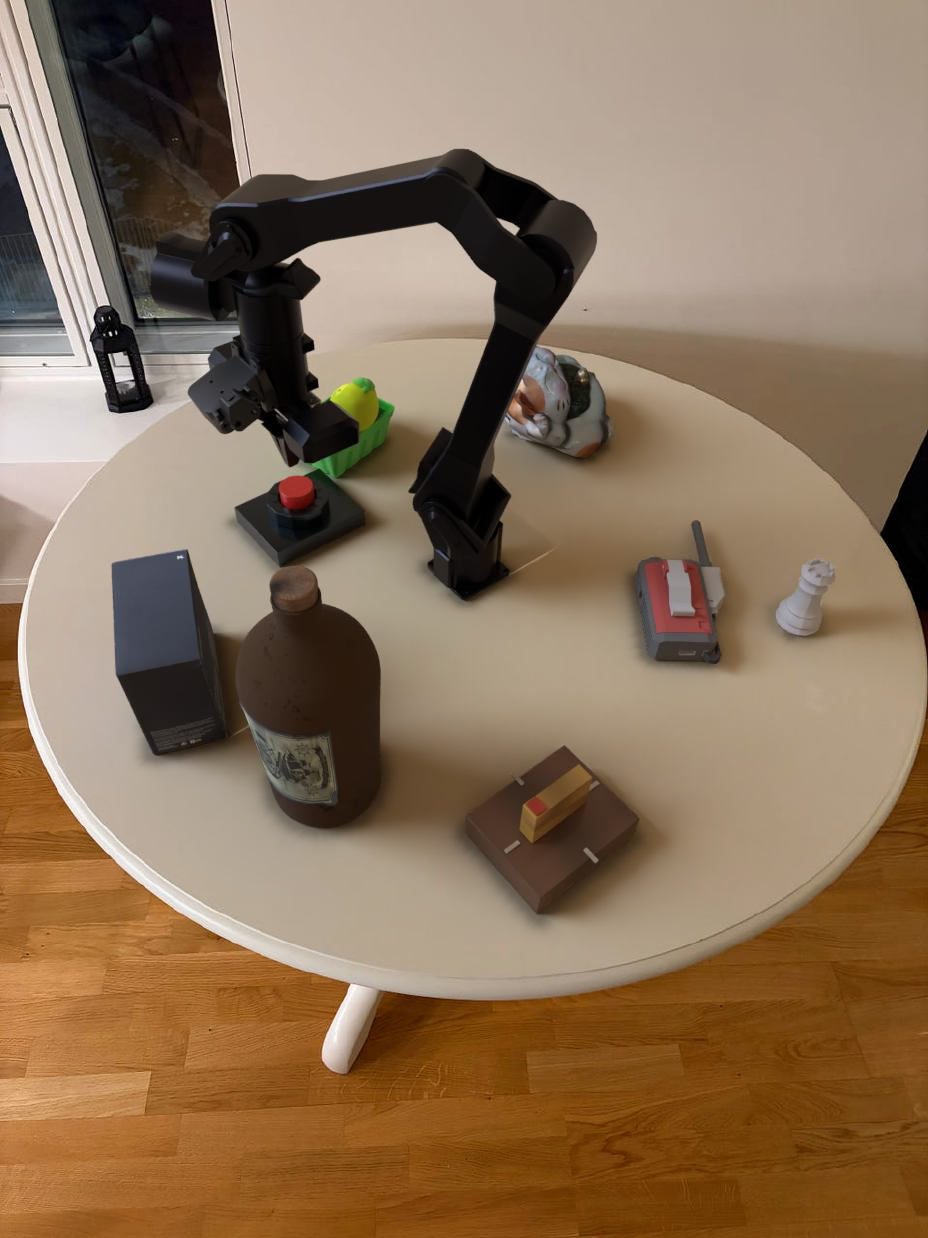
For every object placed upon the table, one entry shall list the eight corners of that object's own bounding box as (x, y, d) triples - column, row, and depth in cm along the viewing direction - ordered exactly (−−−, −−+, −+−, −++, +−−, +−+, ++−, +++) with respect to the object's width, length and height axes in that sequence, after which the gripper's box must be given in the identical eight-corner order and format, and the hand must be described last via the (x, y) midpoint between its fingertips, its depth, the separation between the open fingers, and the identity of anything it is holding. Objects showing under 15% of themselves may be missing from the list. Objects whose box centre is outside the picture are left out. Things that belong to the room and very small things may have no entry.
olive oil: (302, 714, 83) (263, 510, 64) (407, 751, 80) (399, 551, 62) (242, 809, 76) (178, 614, 57) (355, 853, 74) (328, 664, 55)
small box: (142, 646, 88) (108, 559, 79) (214, 632, 89) (189, 545, 80) (150, 757, 79) (113, 674, 70) (229, 740, 81) (203, 656, 72)
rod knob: (573, 789, 75) (579, 762, 72) (586, 803, 74) (593, 775, 71) (518, 830, 72) (522, 803, 69) (532, 844, 71) (536, 818, 68)
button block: (321, 482, 104) (317, 455, 101) (365, 524, 100) (363, 497, 97) (237, 521, 100) (231, 494, 97) (279, 568, 95) (274, 540, 92)
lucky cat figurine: (621, 461, 108) (594, 396, 96) (526, 490, 111) (489, 430, 99) (600, 363, 114) (572, 289, 102) (510, 392, 117) (473, 325, 105)
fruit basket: (351, 417, 113) (344, 336, 104) (407, 444, 109) (405, 363, 101) (288, 463, 106) (275, 381, 98) (345, 493, 103) (337, 411, 95)
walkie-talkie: (737, 672, 87) (702, 530, 100) (749, 643, 84) (711, 500, 97) (647, 670, 87) (623, 528, 100) (655, 641, 84) (630, 498, 97)
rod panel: (556, 758, 80) (559, 739, 78) (639, 841, 75) (645, 822, 73) (460, 827, 76) (461, 808, 73) (541, 920, 70) (545, 903, 68)
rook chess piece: (820, 641, 90) (847, 587, 84) (774, 634, 91) (798, 579, 85) (817, 609, 93) (843, 554, 87) (773, 602, 93) (796, 546, 87)
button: (303, 483, 99) (301, 470, 97) (321, 500, 97) (319, 488, 95) (274, 496, 97) (272, 483, 96) (292, 514, 95) (290, 501, 94)
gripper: (142, 312, 83) (178, 448, 95) (245, 409, 74) (270, 547, 85) (249, 276, 88) (270, 410, 99) (358, 364, 78) (367, 500, 90)
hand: (291, 464), depth 93 cm, fingers closed
